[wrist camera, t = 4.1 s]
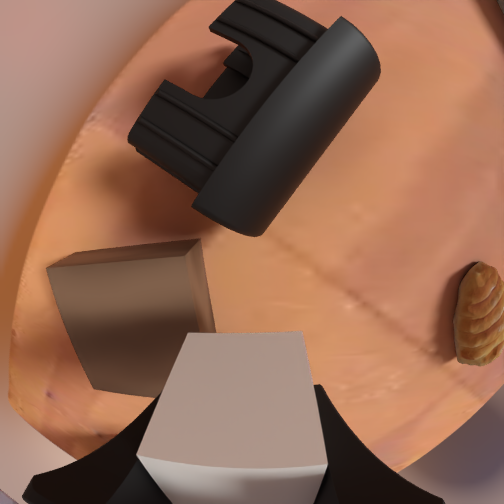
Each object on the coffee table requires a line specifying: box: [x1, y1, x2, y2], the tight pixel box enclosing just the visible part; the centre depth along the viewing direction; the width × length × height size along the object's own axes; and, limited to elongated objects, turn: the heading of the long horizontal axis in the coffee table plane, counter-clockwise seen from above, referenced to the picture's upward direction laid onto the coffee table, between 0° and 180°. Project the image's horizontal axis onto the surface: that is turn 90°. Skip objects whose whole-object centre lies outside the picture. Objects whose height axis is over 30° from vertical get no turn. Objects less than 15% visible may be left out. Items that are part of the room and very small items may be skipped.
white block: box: [136, 331, 328, 504], centre depth 8 cm, size 4×4×6 cm
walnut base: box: [46, 239, 216, 398], centre depth 17 cm, size 10×10×4 cm
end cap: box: [128, 0, 381, 237], centre depth 12 cm, size 10×7×7 cm
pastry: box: [453, 262, 504, 366], centre depth 16 cm, size 9×7×4 cm
